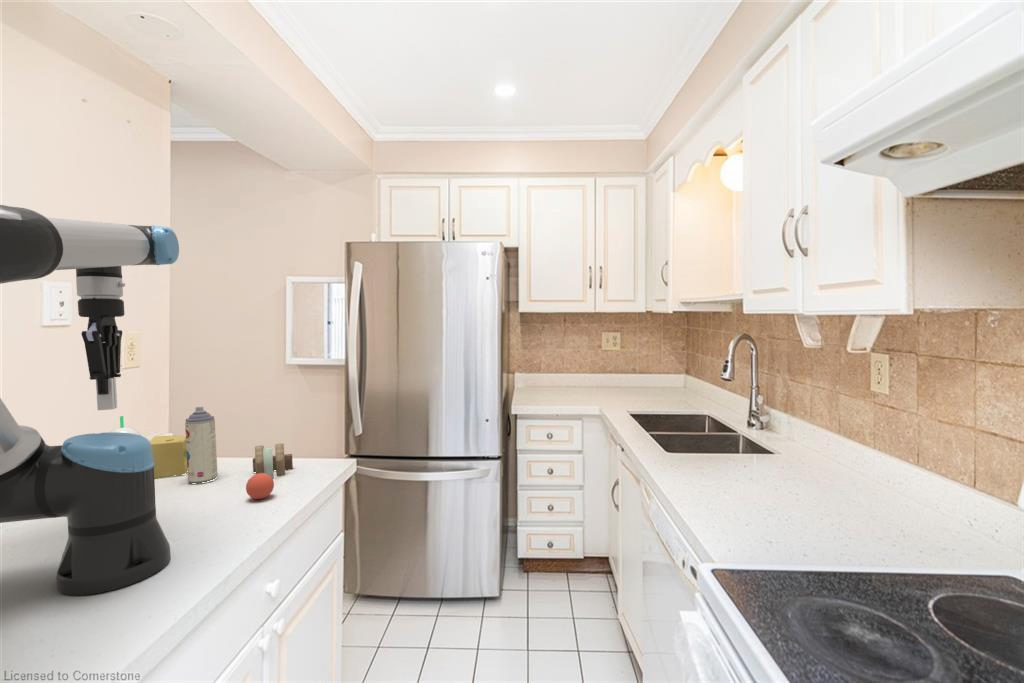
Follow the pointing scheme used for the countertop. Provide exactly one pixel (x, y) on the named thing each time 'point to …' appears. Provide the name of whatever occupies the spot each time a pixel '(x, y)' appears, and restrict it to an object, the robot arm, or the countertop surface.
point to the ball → (259, 486)
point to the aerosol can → (201, 446)
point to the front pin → (268, 461)
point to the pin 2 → (280, 459)
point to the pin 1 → (259, 459)
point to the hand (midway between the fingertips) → (107, 408)
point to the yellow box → (169, 455)
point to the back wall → (287, 462)
